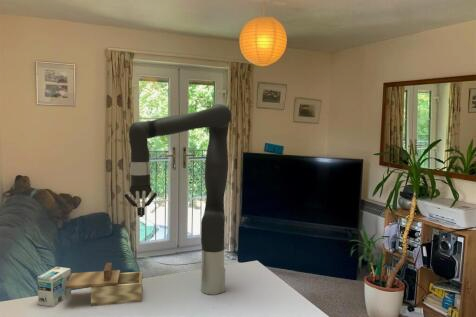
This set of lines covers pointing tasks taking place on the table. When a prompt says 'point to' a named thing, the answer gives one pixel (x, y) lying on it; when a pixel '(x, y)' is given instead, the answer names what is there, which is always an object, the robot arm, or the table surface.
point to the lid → (94, 278)
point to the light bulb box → (53, 286)
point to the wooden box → (119, 290)
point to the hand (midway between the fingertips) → (141, 216)
